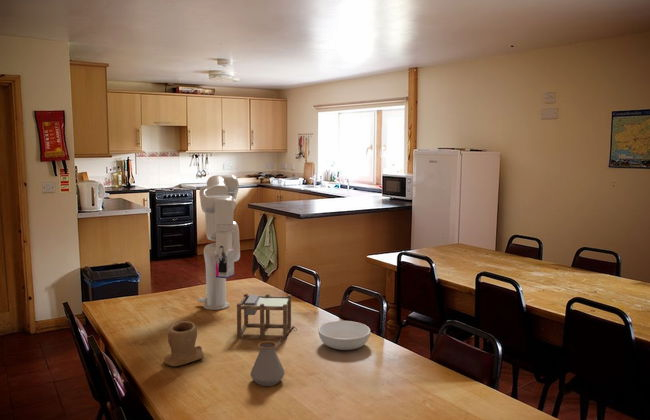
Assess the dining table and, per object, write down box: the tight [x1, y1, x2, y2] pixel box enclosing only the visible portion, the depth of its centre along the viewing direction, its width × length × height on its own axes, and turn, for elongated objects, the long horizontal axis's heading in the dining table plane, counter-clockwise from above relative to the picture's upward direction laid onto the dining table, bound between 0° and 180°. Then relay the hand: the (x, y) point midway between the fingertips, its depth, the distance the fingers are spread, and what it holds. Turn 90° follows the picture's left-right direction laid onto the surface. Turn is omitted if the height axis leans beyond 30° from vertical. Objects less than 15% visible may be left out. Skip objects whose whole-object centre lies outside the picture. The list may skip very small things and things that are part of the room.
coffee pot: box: [250, 326, 298, 387], centre depth 183 cm, size 21×12×15 cm, turn 147°
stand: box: [236, 293, 292, 340], centre depth 227 cm, size 21×16×14 cm
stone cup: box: [162, 320, 205, 367], centre depth 195 cm, size 15×12×15 cm
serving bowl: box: [318, 320, 371, 351], centre depth 213 cm, size 21×21×7 cm
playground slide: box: [245, 294, 289, 316], centre depth 226 cm, size 17×13×5 cm
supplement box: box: [215, 249, 235, 279], centre depth 221 cm, size 6×6×12 cm
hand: (224, 269), depth 221 cm, fingers closed on supplement box, 6 cm apart
